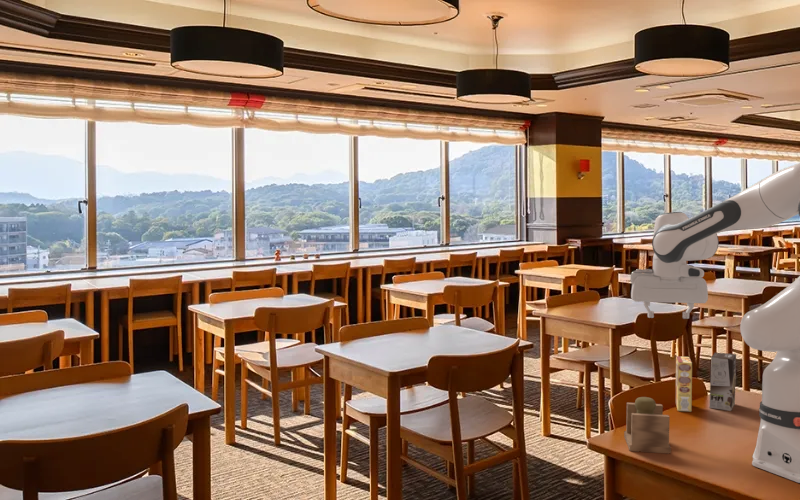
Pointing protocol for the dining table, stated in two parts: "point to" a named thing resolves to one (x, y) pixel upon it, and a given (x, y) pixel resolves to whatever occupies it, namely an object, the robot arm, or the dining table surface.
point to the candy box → (683, 383)
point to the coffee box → (722, 381)
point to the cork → (645, 405)
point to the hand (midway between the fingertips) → (668, 318)
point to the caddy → (647, 430)
